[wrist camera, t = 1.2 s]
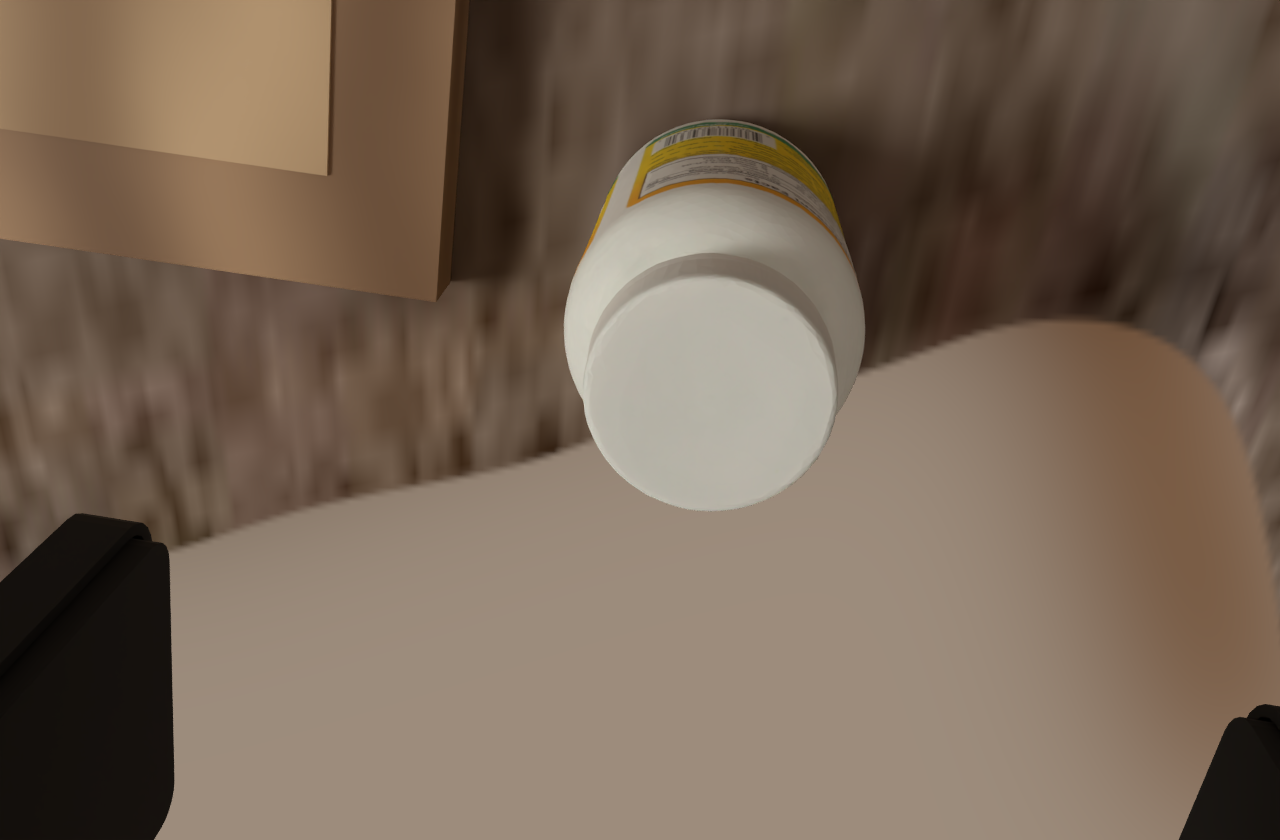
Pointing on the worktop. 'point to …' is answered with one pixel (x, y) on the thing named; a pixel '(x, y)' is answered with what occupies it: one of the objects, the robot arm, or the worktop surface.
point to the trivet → (238, 135)
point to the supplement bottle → (715, 317)
